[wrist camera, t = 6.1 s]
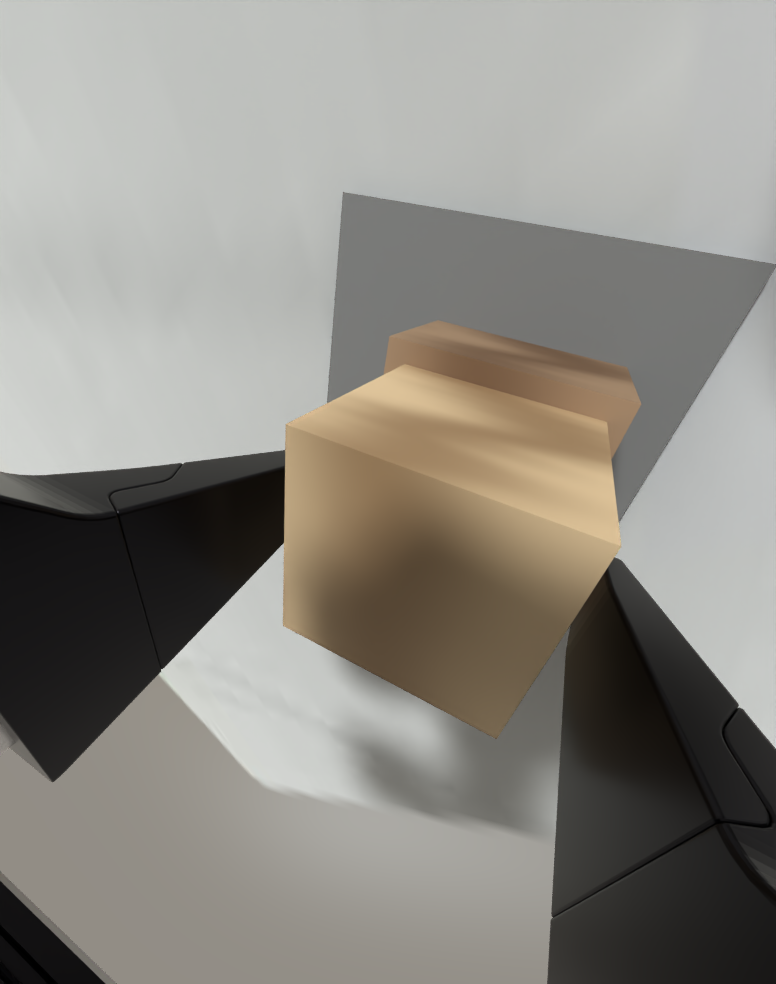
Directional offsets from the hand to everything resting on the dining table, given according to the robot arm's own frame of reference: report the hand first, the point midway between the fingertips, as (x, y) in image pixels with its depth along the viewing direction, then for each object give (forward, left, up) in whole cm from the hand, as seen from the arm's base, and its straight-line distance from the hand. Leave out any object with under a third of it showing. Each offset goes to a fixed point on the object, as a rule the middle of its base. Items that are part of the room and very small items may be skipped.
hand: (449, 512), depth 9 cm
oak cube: (0, 0, -2) cm, 2 cm away
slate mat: (+1, -1, -6) cm, 7 cm away
